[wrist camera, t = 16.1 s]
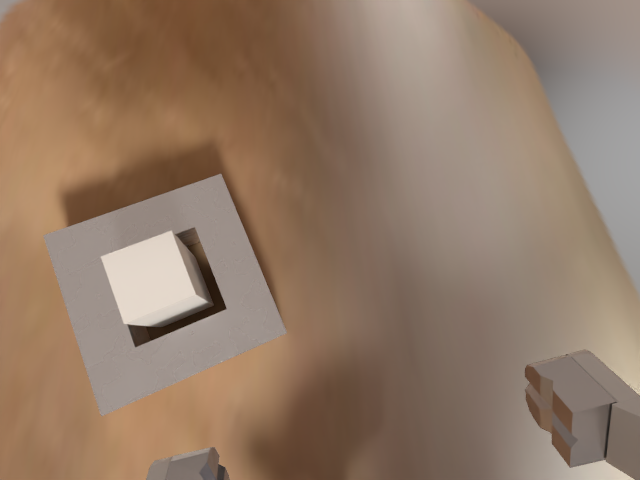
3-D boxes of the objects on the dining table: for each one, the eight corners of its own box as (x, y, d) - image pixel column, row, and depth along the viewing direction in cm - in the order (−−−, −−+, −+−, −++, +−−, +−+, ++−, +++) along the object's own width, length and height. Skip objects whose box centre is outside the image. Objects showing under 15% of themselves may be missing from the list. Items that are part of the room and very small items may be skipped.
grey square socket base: (284, 333, 30) (287, 332, 27) (124, 405, 28) (101, 416, 24) (226, 193, 32) (221, 173, 29) (72, 248, 30) (43, 235, 26)
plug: (214, 305, 30) (196, 294, 23) (161, 327, 30) (123, 323, 22) (195, 257, 31) (171, 230, 23) (143, 277, 30) (100, 256, 22)
